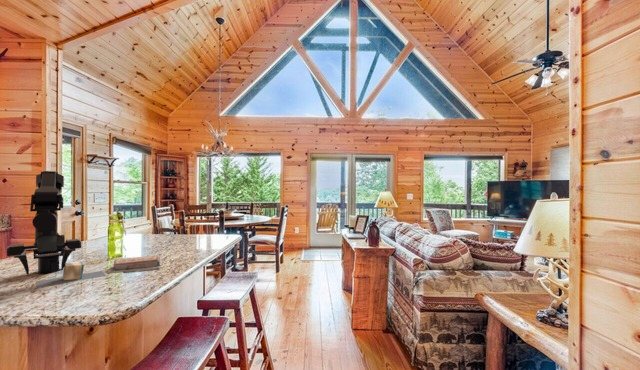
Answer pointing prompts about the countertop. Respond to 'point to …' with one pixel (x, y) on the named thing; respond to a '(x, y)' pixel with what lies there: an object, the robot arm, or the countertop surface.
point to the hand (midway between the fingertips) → (45, 271)
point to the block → (73, 271)
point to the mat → (61, 280)
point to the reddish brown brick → (135, 264)
